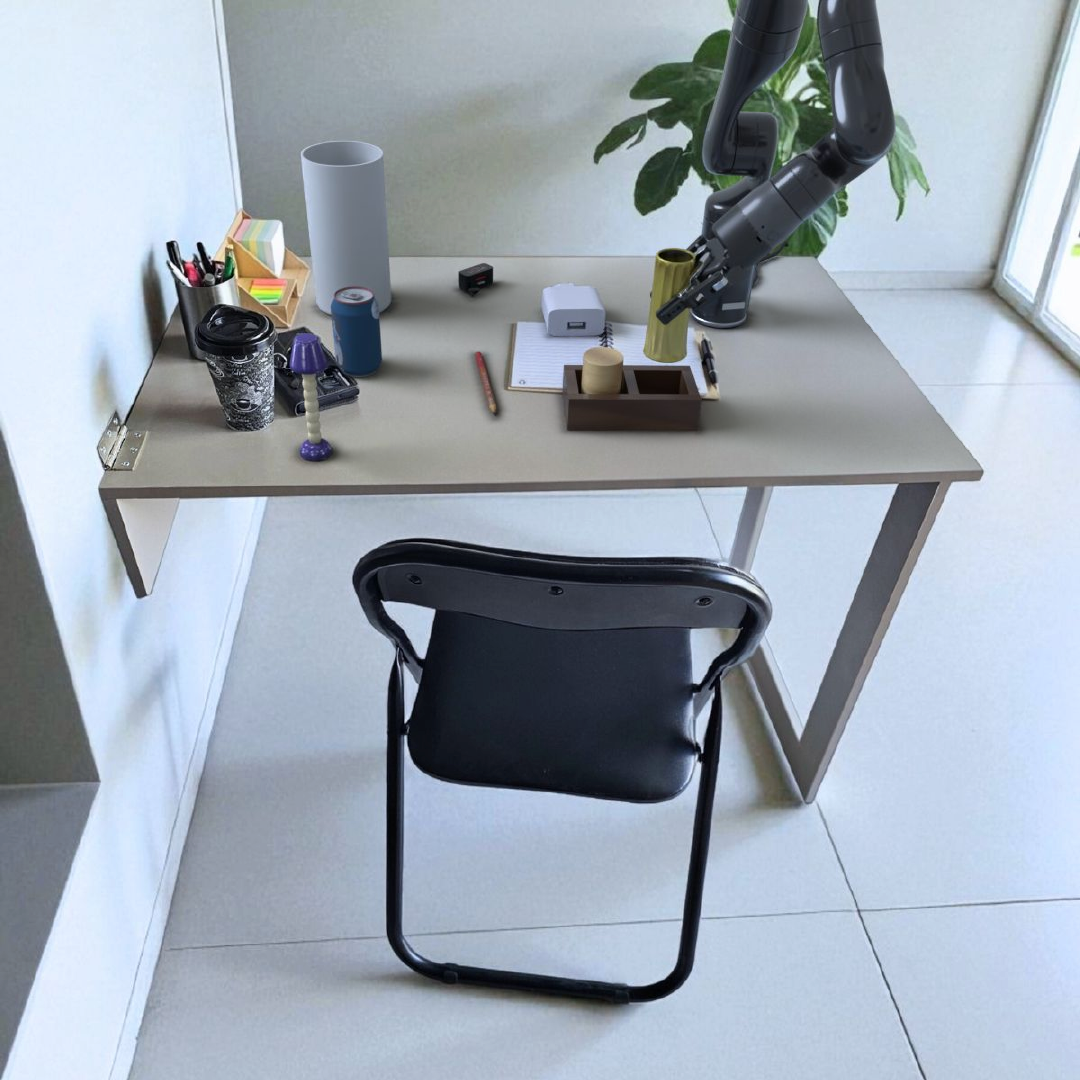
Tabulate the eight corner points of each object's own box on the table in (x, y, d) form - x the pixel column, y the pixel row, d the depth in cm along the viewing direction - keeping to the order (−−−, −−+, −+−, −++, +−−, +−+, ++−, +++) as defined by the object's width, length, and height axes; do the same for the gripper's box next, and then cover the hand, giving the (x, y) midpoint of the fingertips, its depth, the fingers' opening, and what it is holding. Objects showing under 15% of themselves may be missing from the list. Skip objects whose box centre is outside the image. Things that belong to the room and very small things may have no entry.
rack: (562, 394, 154) (563, 364, 151) (685, 395, 155) (690, 365, 152) (566, 430, 146) (568, 399, 143) (697, 430, 147) (701, 399, 144)
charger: (590, 296, 182) (603, 335, 170) (537, 297, 181) (547, 336, 169) (591, 270, 179) (605, 308, 167) (538, 271, 178) (548, 309, 166)
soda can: (391, 364, 160) (387, 290, 152) (366, 383, 155) (361, 308, 147) (352, 353, 162) (346, 280, 155) (327, 372, 157) (320, 298, 150)
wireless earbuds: (453, 290, 182) (453, 272, 180) (484, 279, 186) (484, 262, 184) (471, 299, 179) (471, 281, 177) (501, 288, 183) (502, 270, 181)
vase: (691, 348, 147) (703, 250, 138) (681, 367, 142) (693, 267, 134) (649, 340, 148) (658, 243, 140) (637, 359, 144) (647, 260, 135)
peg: (596, 398, 154) (600, 343, 148) (626, 412, 151) (631, 356, 145) (571, 412, 150) (575, 355, 145) (601, 426, 147) (606, 369, 142)
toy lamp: (302, 442, 141) (288, 329, 131) (336, 441, 142) (326, 329, 132) (298, 461, 138) (284, 347, 127) (334, 461, 138) (322, 346, 128)
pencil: (474, 356, 163) (474, 350, 162) (481, 356, 163) (481, 350, 163) (491, 418, 148) (491, 412, 148) (498, 418, 148) (498, 412, 148)
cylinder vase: (335, 284, 182) (322, 137, 167) (402, 294, 180) (395, 146, 164) (303, 313, 172) (286, 160, 157) (374, 325, 170) (363, 170, 155)
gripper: (729, 185, 139) (632, 270, 145) (752, 224, 127) (645, 314, 134) (762, 224, 142) (666, 305, 149) (787, 266, 131) (681, 352, 137)
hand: (656, 309), depth 141 cm, fingers closed on vase, 5 cm apart
